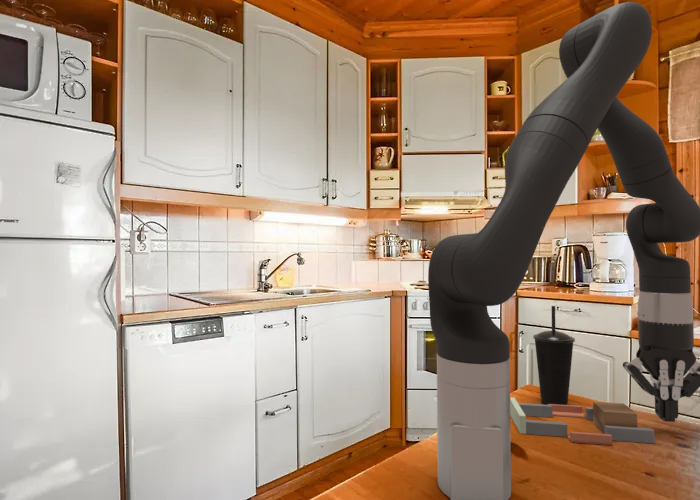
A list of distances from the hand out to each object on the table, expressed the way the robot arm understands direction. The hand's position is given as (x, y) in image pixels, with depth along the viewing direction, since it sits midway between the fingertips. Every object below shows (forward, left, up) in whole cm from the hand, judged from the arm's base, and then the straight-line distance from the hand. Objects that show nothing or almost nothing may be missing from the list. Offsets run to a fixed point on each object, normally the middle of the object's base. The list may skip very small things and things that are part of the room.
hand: (666, 419), depth 70 cm
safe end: (0, +24, -2) cm, 24 cm away
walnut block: (0, +8, -2) cm, 9 cm away
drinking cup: (+11, +15, -2) cm, 19 cm away
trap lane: (0, +14, -2) cm, 14 cm away
